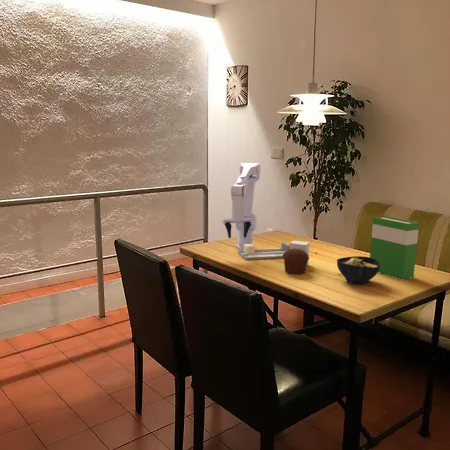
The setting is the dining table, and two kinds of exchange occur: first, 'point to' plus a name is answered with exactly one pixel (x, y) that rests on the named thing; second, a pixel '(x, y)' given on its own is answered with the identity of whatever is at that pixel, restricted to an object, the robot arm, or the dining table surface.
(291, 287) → the dining table surface
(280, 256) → the gauge board
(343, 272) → the bowl
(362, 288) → the dining table surface
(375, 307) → the dining table surface
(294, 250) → the muffin
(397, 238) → the hardback book
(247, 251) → the gauge slider
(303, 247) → the small box
